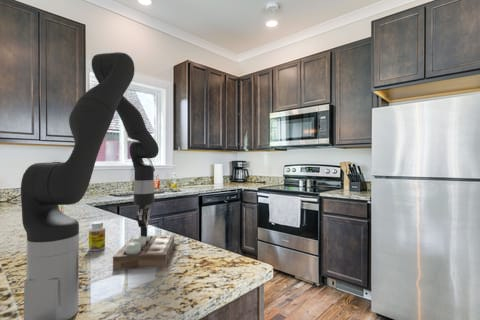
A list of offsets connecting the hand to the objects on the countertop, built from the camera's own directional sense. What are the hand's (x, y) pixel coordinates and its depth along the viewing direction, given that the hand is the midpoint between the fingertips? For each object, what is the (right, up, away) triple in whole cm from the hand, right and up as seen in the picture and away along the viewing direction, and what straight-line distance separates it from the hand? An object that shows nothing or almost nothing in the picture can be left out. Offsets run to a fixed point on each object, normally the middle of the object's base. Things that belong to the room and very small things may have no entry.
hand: (144, 236), depth 101 cm
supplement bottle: (-18, -5, 0) cm, 19 cm away
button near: (+2, -2, -15) cm, 15 cm away
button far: (0, -4, 0) cm, 4 cm away
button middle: (+1, -2, -8) cm, 8 cm away
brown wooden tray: (+4, -5, -7) cm, 9 cm away
